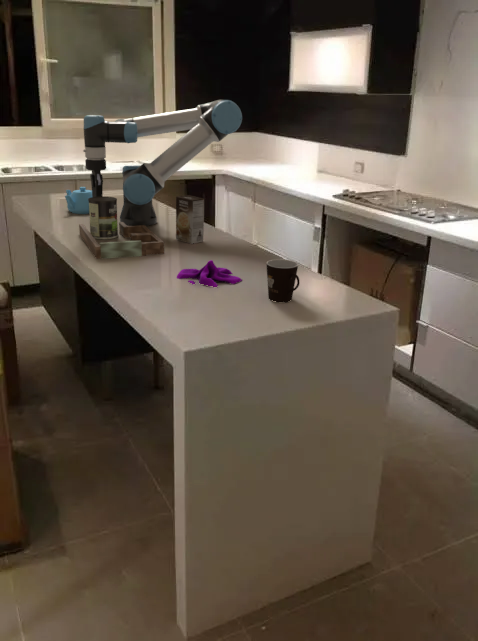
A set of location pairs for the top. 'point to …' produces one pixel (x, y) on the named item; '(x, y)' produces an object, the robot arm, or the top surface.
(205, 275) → the cloth
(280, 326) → the top surface
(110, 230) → the coffee can
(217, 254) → the top surface
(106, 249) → the wooden compartment tray
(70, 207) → the teapot
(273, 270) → the coffee mug
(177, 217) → the coffee box
